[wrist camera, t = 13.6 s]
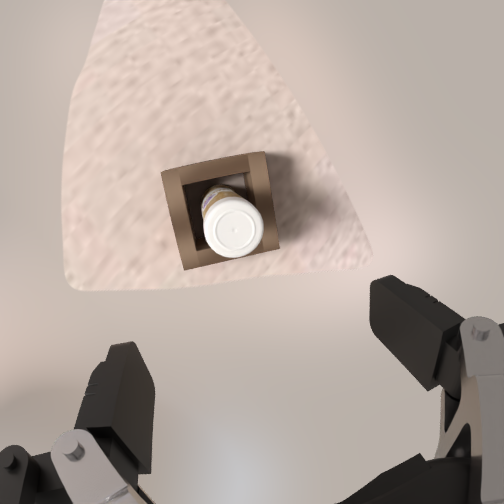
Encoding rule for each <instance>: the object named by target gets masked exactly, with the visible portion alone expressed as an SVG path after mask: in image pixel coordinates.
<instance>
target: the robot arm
mask: <svg viewBox="0 0 504 504" xmlns="http://www.w3.org/2000/svg"><path fill="white" fill-rule="evenodd" d="M370 326H371V329H372V331H373V333H374V335H375V336H376V337H377V338H378V339H379V340H380V341H381V342H382V343H383V344H384V345H385V346H386V347H387V348H388V349H389V350H390V351H391V353H392V354H393V355H394V356H395V357H396V358H397V359H398V360H399V361H400V362H401V363H402V364H403V365H404V366H405V367H406V368H407V370H409V372H410V373H411V374H412V375H413V376H414V377H415V378H416V379H417V380H418V381H419V383H420V384H421V385H422V386H423V387H424V388H425V389H426V390H427V391H429V390H431V389H433V388H434V387H436V386H438V385H441V386H442V387H443V389H442V393H441V420H440V438H439V444H438V448H437V451H436V454H435V458H434V459H432V460H428V461H425V459H424V458H423V457H422V455H421V454H420V453H419V454H417V455H416V456H414V457H412V458H410V459H409V460H407V461H405V462H403V463H401V464H399V465H397V466H395V467H393V468H392V469H389V470H388V471H385V472H383V473H381V474H380V475H379V476H377V477H376V478H375V479H374V480H372V481H371V482H369V483H368V484H367V485H365V486H364V487H363V488H361V489H360V490H358V491H357V492H356V493H354V494H353V495H351V496H350V497H349V498H347V499H345V500H344V501H342V502H340V503H337V504H504V323H503V324H499V325H498V324H497V323H495V322H494V321H493V320H491V319H489V318H485V317H478V316H477V317H471V318H468V319H464V318H463V317H461V316H460V315H459V314H457V313H456V312H454V311H453V310H451V309H450V308H449V307H447V306H446V305H444V304H443V303H441V302H438V300H437V299H436V298H434V297H433V296H430V294H428V293H427V292H425V291H424V290H422V289H421V288H418V287H415V286H412V285H409V284H405V283H404V282H402V281H401V280H400V279H398V278H397V277H395V276H393V275H389V276H386V277H383V278H380V279H377V280H374V281H372V282H371V285H370ZM154 403H155V387H154V383H153V380H152V377H151V375H150V373H149V371H148V369H147V367H146V365H145V363H144V360H143V358H142V356H141V354H140V352H139V350H138V348H137V346H136V344H135V343H134V342H127V343H120V344H115V345H111V346H110V349H109V352H108V355H107V358H106V361H104V362H100V364H99V365H98V366H97V367H96V368H95V370H94V371H93V372H92V374H91V377H90V380H89V383H88V387H87V388H86V391H85V396H84V398H83V401H82V404H81V407H80V410H79V413H78V417H77V420H76V424H75V427H74V430H70V431H67V432H65V433H64V434H62V435H60V436H59V437H58V438H57V439H56V441H55V442H54V444H53V446H52V449H51V452H47V453H43V454H39V455H35V456H31V455H30V454H29V453H27V451H26V450H25V449H24V448H23V447H21V446H18V445H11V446H8V447H6V448H5V449H3V450H2V451H1V452H0V504H156V503H155V502H154V501H153V500H152V499H151V498H150V497H149V496H148V495H147V494H146V492H145V491H144V490H143V489H142V488H141V487H140V486H139V485H138V474H151V460H152V432H153V417H154Z"/></svg>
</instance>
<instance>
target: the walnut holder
mask: <svg viewBox="0 0 504 504" xmlns="http://www.w3.org/2000/svg"><path fill="white" fill-rule="evenodd" d="M237 173H243V175H244V181H245V186H246V192H247V198H248V201H249V202H250V203H251V204H252V205H253V206H254V207H255V208H256V209H257V210H258V211H259V213H260V215H261V217H262V219H263V224H264V231H263V236H262V239H261V241H260V243H259V244H258V246H257V247H256V248H255V249H254V250H253V251H252V252H250V253H249V254H247V255H245V256H242V257H246V256H250V255H254V254H259V253H263V252H267V251H272V250H276V249H280V246H279V240H278V233H277V226H276V220H275V213H274V207H273V201H272V194H271V188H270V182H269V176H268V170H267V164H266V158H265V152H264V151H262V152H252V153H246V154H241V155H235V156H230V157H224V158H219V159H214V160H209V161H205V162H200V163H195V164H191V165H186V166H182V167H177V168H173V169H169V170H165V171H163V172H161V176H162V181H163V185H164V190H165V195H166V199H167V203H168V208H169V212H170V216H171V221H172V225H173V229H174V233H175V237H176V241H177V245H178V249H179V253H180V256H181V260H182V264H183V268H184V270H189V269H193V268H197V267H202V266H206V265H211V264H215V263H219V262H224V261H228V260H232V259H237V258H229V257H224V256H222V255H219V254H218V253H216V252H215V251H214V250H213V249H212V248H211V247H210V246H209V244H208V243H207V241H206V238H205V237H201V238H197V239H196V238H195V233H194V229H193V225H192V220H191V216H190V211H189V207H188V202H187V197H186V193H185V188H184V185H185V184H190V183H194V182H199V181H203V180H208V179H213V178H217V177H222V176H227V175H232V174H237ZM238 258H241V257H238Z"/></svg>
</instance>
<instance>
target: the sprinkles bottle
mask: <svg viewBox="0 0 504 504" xmlns="http://www.w3.org/2000/svg"><path fill="white" fill-rule="evenodd" d="M201 210H202V216H203V220H204V223H203V228H204V234H205V238H206V241H207V243H208V244H209V246H210V247H211V248H212V249H213V250H214V251H215V252H216V253H218V254H219V255H222V256H224V257H229V258H238V257H242V256H245V255H247V254H249V253H250V252H252V251H253V250H254V249H255V248H256V247H257V246H258V244H259V243H260V241H261V239H262V236H263V231H264V224H263V219H262V217H261V215H260V213H259V211H258V210H257V209H256V208H255V207H254V206H253V205H252V204H251V203H250V202H249V201H247V200H245V199H243V198H242V197H241V196H239V195H238V194H236V192H235V191H234V190H233V189H232V188H230V187H229V186H226V185H214V186H212V187H210V188H209V189H207V190H206V191H205V192H204V194H203V195H202V198H201Z"/></svg>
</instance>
